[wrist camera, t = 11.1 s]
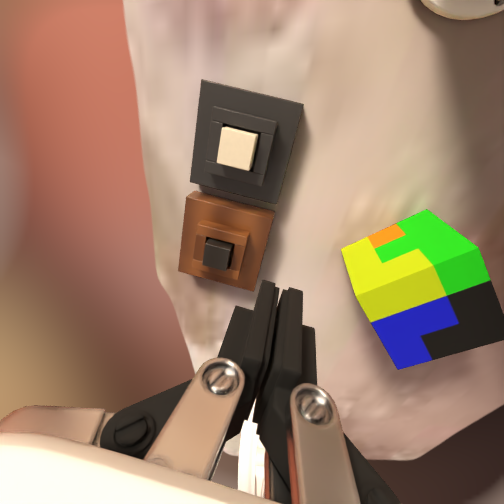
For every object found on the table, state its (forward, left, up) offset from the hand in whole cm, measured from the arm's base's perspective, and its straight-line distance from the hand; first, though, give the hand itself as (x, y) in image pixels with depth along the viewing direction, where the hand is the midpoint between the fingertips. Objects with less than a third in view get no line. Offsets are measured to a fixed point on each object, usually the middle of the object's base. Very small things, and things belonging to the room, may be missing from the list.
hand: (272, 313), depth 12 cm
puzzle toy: (-15, +6, -23) cm, 28 cm away
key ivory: (+6, -3, -19) cm, 21 cm away
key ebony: (+6, +8, -19) cm, 21 cm away
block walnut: (+6, +8, -23) cm, 25 cm away
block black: (+6, -3, -23) cm, 24 cm away
